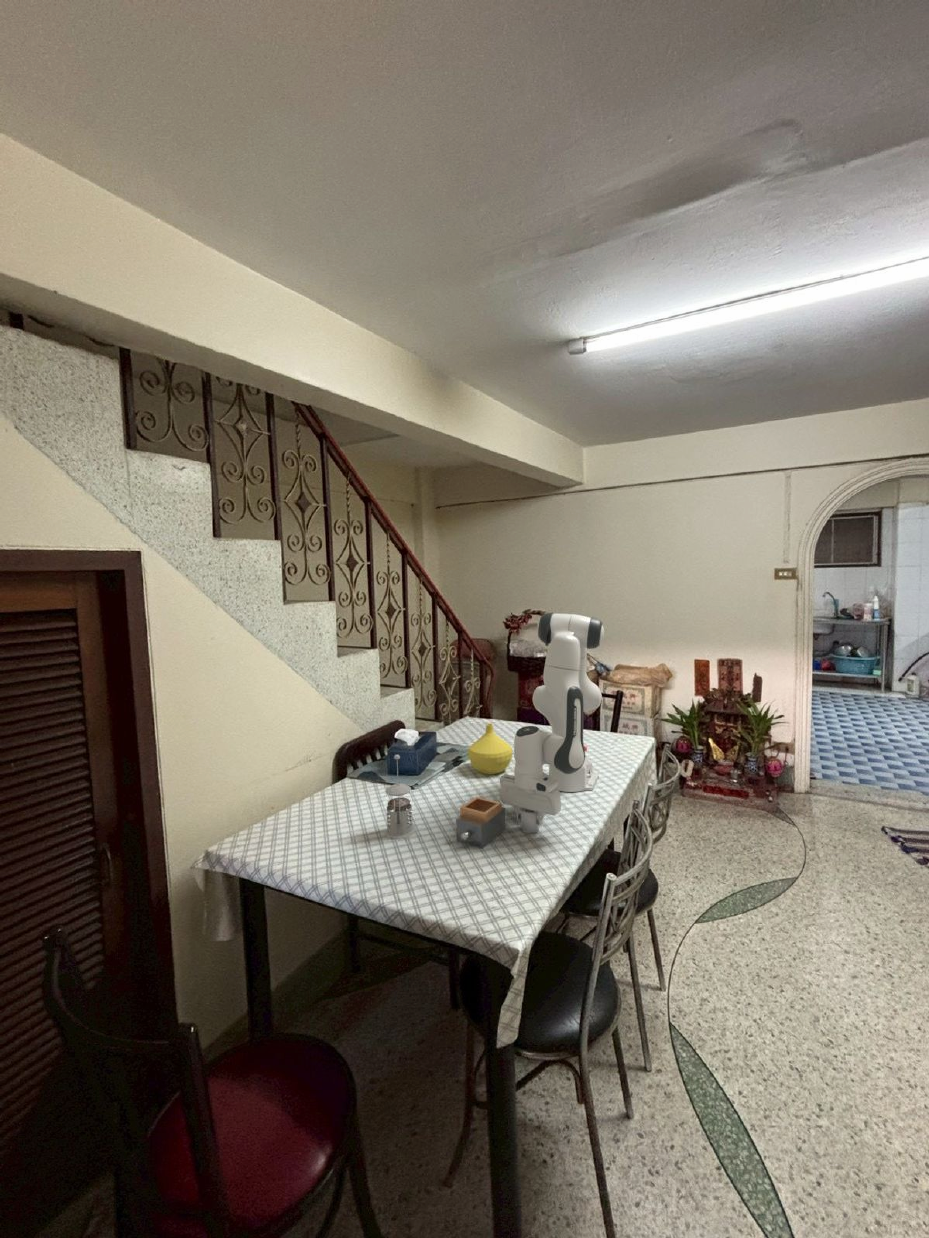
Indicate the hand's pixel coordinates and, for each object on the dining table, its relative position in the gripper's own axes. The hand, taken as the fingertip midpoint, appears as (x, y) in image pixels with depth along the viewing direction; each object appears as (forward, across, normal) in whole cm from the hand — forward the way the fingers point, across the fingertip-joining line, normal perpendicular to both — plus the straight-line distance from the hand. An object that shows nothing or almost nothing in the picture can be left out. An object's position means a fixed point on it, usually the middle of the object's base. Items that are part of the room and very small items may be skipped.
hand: (529, 821), depth 170 cm
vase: (+3, -38, +38) cm, 54 cm away
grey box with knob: (+2, -11, -13) cm, 17 cm away
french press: (+3, -34, -23) cm, 41 cm away
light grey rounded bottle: (+2, 0, 0) cm, 2 cm away
